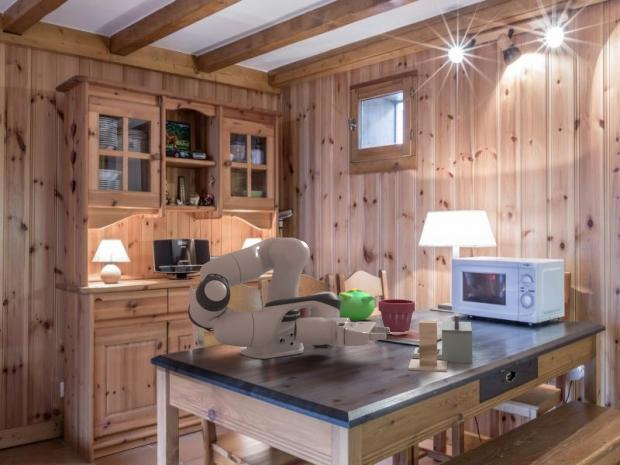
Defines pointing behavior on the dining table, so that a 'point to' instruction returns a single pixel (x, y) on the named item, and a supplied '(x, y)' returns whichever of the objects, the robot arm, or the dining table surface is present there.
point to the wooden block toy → (454, 342)
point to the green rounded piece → (356, 304)
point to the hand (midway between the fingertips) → (387, 333)
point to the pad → (416, 366)
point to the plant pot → (396, 314)
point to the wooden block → (428, 342)
